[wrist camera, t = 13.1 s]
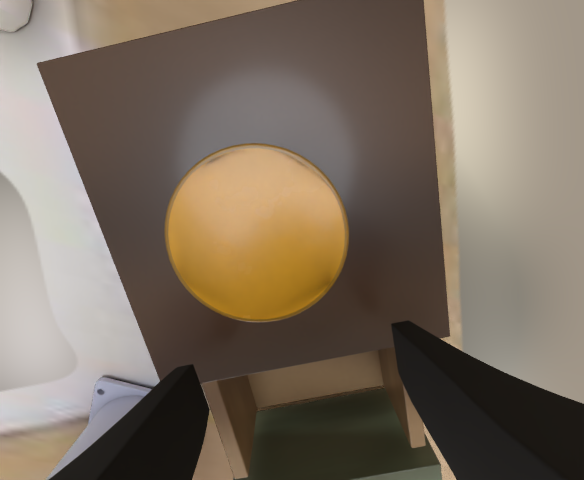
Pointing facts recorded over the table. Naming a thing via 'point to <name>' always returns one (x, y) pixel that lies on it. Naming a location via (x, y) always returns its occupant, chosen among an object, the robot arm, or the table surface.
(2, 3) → the milkshake
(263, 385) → the drawer
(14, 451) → the table surface
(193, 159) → the cabinet
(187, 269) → the tin
